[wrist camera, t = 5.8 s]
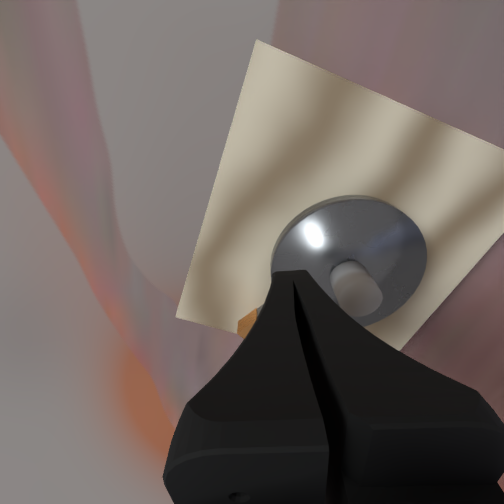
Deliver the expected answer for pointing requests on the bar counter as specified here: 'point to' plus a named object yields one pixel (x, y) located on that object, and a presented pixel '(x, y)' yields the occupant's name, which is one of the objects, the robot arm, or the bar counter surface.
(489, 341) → the bar counter surface
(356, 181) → the base
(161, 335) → the bar counter surface
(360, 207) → the flange
